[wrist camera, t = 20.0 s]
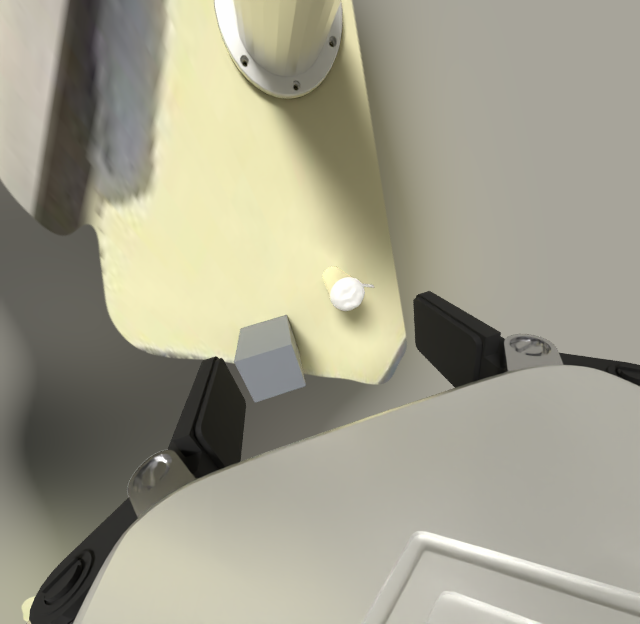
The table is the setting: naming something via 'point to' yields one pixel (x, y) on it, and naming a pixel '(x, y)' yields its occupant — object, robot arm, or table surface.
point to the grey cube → (269, 359)
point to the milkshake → (343, 288)
